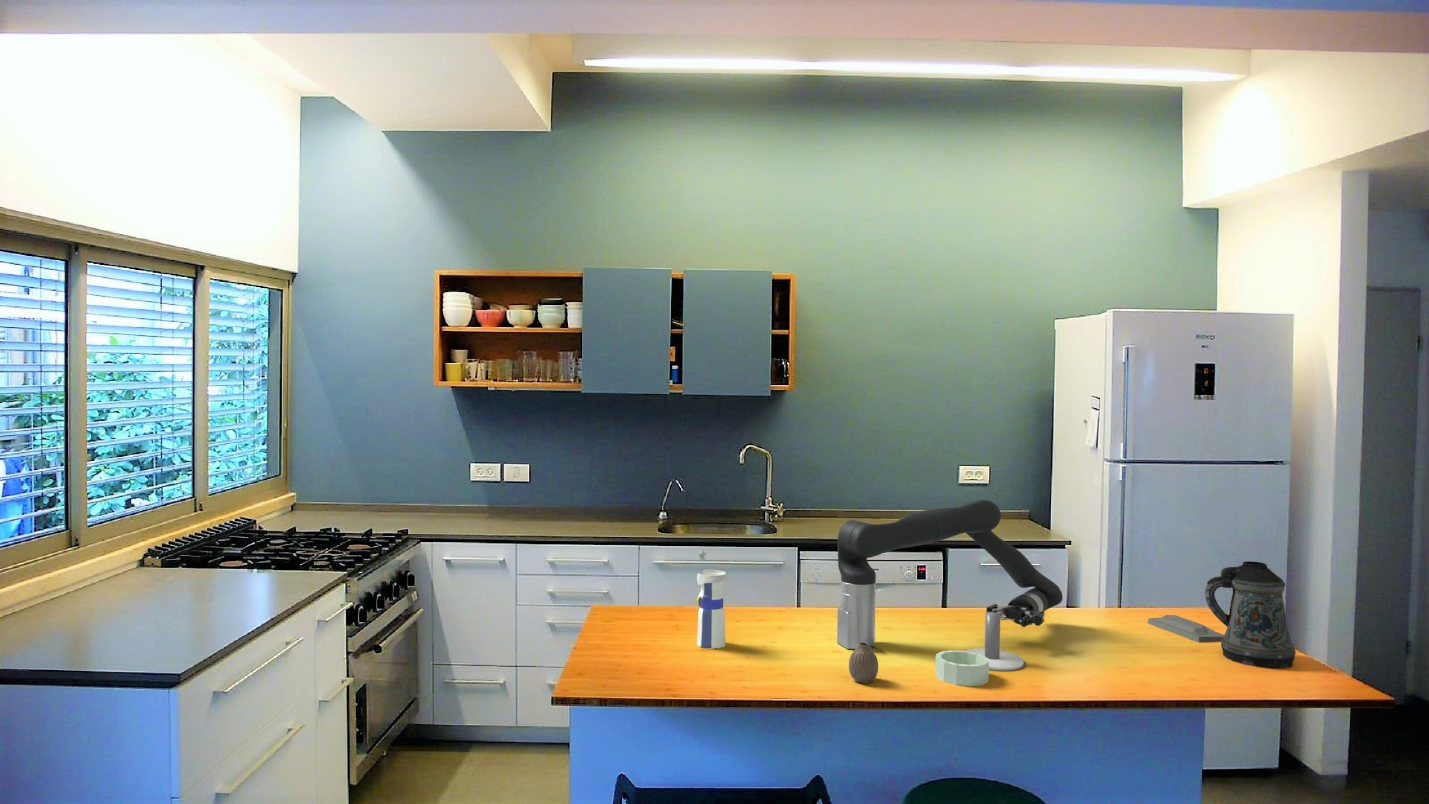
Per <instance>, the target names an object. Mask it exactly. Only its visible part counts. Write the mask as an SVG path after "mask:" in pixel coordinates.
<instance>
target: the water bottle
mask: <svg viewBox="0 0 1429 804" xmlns="http://www.w3.org/2000/svg"><path fill="white" fill-rule="evenodd" d="M707 554H708V552H705V551H704V549H702V550H701V553H698V556H699V559H698V560H699V562H701V561H705V560H706V559H705V557H706V555H707ZM727 579H728V576H727V573H726V572H725V571H723V570H718V569H716V570H715V569H704V570H702V574H701V573H697V575H696V582H697V585H698V586H699V585H700V586H701V589H700V592H699V593H698V596H697V600H696V604H697V607H698V608H699V609H698V616H697V617H698V618H697V620H698V621H697V639H696V646H697V647H699V648H702V647H704V648H703V649H707V648H712V649H713V650H714V649H715V648H717V649H721V647H722V648H724V647H726V646H727V645H726V643H727V642H726V612H725V611H726V610H725V608H724V597H726V594H725V592H724V590H723V589H724V588H723V587H724V586H723V585H724V581H727ZM712 649H711V650H712ZM715 650H716V649H715Z"/></svg>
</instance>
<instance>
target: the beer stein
mask: <svg viewBox="0 0 1429 804" xmlns="http://www.w3.org/2000/svg"><path fill="white" fill-rule="evenodd" d="M1206 584H1207V585H1206V586H1205V591H1204V597H1205V601H1206V603H1207V606H1208V608H1209V609H1210V611H1211V612H1212V614H1214V616H1215V617H1216V618H1217V619H1218V620H1219V621H1220V622H1221V623H1222V624H1223V625H1225V627H1226V629H1225V631H1224V632H1225V633H1224V634H1223V635H1224V637H1223V639H1222V640H1221V641H1220V645H1221V650H1222V655H1223V657H1225V659H1228V660H1230V661H1232V662H1236V663H1238V664H1241V665H1243V666H1249V667H1255V668H1262V669H1272V670H1274V669H1275V670H1276V669H1277V670H1279V669H1282V670H1283V669H1284V670H1285V669H1288V668H1292V666H1293V664H1294V661H1295V657H1296V653H1297V652H1296V649H1295V647H1294V646H1295V645H1294V644H1293V642H1292V639H1291V635H1290V630H1289V628H1288V623H1287V616H1286V610H1285V602H1284V599H1283V598H1284V597H1283V592H1284V591H1285V587H1286V583H1285V581H1284V580H1283V579H1282V577H1279V576H1278V575H1277V574H1276V573H1275V572H1273V571H1272V570H1271V569H1270V568H1269V567H1268V566H1267V563H1265V562H1259V561H1243V562H1242V564H1241V565H1238V566H1229V567H1224V568H1222V569H1221V571H1220V576H1214V577H1211V578H1210V579H1209V580H1208V581H1207V582H1206ZM1220 588H1224V589H1225V588H1226V589H1231V588H1232V595H1231V600H1230V606H1229V614H1227V613H1226V612H1225V611H1224V609H1222V608H1221V607H1220V605H1219V603H1218V601H1217V600H1216V596H1215V593H1216V591H1217V589H1220Z"/></svg>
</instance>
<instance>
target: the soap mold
mask: <svg viewBox="0 0 1429 804" xmlns="http://www.w3.org/2000/svg"><path fill="white" fill-rule="evenodd" d="M1147 624H1148V625H1151V626H1154V627H1156V628H1158V629H1162V630H1164V631H1167V632H1169V633H1172V634H1175V635H1178V636H1180V637H1183V638H1184V639H1185V638H1186V639H1189V640H1191V641H1194V642H1197V643H1212V642H1221V640H1222V639H1223V637H1224V635H1225V634H1223V633H1220V632H1217V631H1215V630H1214V629H1212V628H1209V627H1208V626H1207V625H1204V624H1202V623H1200V622H1196V621H1193V620H1191V619H1187V618H1184V617H1183V616H1179V615H1175V614H1165V615H1164V616H1162V617H1148V621H1147Z"/></svg>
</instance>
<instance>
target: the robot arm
mask: <svg viewBox="0 0 1429 804" xmlns="http://www.w3.org/2000/svg"><path fill="white" fill-rule="evenodd" d="M1001 514H1002V512H1001V511H1000V508H999V507H998V505H997V504H996V503H994V502H993V501H990V500H988V499H977V500H974V501H969V502H966V503H963V504H961V505H960V506H959V507H958V506H957V507H942V508H932V509H925V510H924V509H923V510H918V511H913V512H911V513H907V514H905V515H903V516H902V517H901V518H899V519H898V520H896V521H894V522H889V523H868V522H865V521H860V520H855V519H851V520H847V521H846V522H844V523H843V524H842V525H841V526H840V528H839V531H838V535H837V567H838V570H839V573H840V607H838V608H837V617H836V618H837V625H836V626H837V627H836V628H837V629H836V631H837V632H836V633H837V634H836V635H837V636H836V638H837V639H836V643H837V644H839V645H840V646H842V647H844V648H845V649H848V650H849V649H850V650H855V649H856V648H857V646H858V644H859V643H861V642H865V643H868V644H869V646H870V648H871V649H872V648H874V647H875V645H876V597H877V596H876V595H877V594H876V591H877V589H876V585H877V584H876V583H877V582H876V581H877V580H876V579H877V573H876V571H875V570H874V569H873V567H872V566H871V565H870V564H869V562H868V559H870V558H874V557H877V556H879V555H883V554H885V553H888V552H891V551H894V550H898V549H904V548H905V549H906V548H912V547H917V546H918V547H919V546H924V545H928V544H934V543H937V542H940V541H941V542H942V541H944V540H946V539H947V540H948V539H951V538H952V537H955V536H958V535H961V534H965V533H966V535H968V536H969V538H971V539H972V540H973V541H975V543H977V544H978V545H979V546H980V547H981V548H982V549H984V551H986V552H987V554H989V555H990V556H991V557H992V558H993V559H994V560H996V563H998V564H999V565H1000V566H1001V568H1002V569H1003V570H1004V571H1005V572H1006V574H1007V575H1008V576H1009V577H1010V578H1011V580H1013V582H1014V583H1015V584H1016V585H1017V586H1018V587H1020V588H1023V589H1025V588H1026V589H1027V588H1030V589H1029V590H1026V591H1025V592H1024V593H1022V594H1019V595H1017V596H1016V597H1014V598H1012V599H1011V600H1009V602H1008V604H1007V605H1006V606H1003V605H1002V606H999V604H996V603H994V604H991V605H989V606H987V607H986V611H985V613H987V612H995V613H999V614H1000V621H1011V622H1014V624H1017V625H1020V626H1021V627H1022V628H1026V627H1027V626H1032V625H1033V624H1034V625H1035V626H1036V627H1039V626H1041V625H1042V624H1043V623H1044V622H1045V611H1047V610H1049V609H1051V608H1054V607H1056V606H1058V605H1059V604H1061V603H1062V602H1063V592H1062V590H1061V589H1060V587H1059V586H1058V584H1056V583H1055V582H1054V581H1052V580H1051V579H1049V578H1048V577H1047V576H1045V575H1044V574H1042V573H1041V572H1040V571H1039V570H1037V568H1035V566H1033V564H1032V563H1031V562H1030V560H1029V559H1028V558H1027V557H1026V556H1025V554H1023V553H1022V551H1020V550H1019V549H1017V548H1015V547H1014V546H1012V545H1011V544H1009V543H1008V542H1006V541H1004V540H1003V539H1002V538H1000V537H999V536H998V535H997V534H996V533H995V532H993V531H992V530H994V529H996V528H997V527H998V525H999V524H1000V522H1001V519H1002V515H1001ZM1032 587H1033V588H1032Z"/></svg>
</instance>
